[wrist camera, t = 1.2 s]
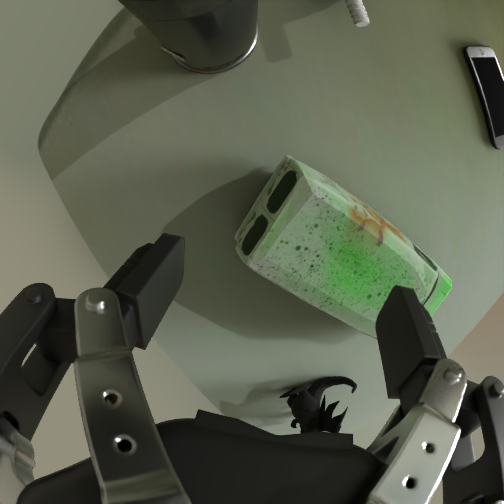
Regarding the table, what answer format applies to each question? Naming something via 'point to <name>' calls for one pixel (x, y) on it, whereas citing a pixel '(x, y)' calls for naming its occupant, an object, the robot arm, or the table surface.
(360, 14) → the dumbbell
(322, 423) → the figurine
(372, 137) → the table surface
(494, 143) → the smartphone
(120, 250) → the table surface
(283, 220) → the toy car
